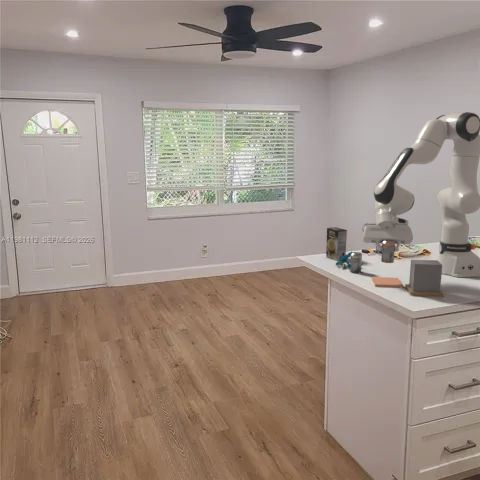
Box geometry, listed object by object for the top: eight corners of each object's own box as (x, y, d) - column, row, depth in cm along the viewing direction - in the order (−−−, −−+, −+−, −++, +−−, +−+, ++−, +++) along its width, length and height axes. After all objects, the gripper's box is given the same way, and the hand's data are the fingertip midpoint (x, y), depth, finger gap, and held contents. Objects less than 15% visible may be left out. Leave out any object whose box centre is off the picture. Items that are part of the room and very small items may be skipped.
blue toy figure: (342, 259, 218) (354, 248, 211) (350, 268, 216) (362, 257, 209) (330, 266, 211) (341, 255, 204) (337, 275, 209) (349, 264, 202)
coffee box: (325, 257, 230) (326, 227, 226) (334, 255, 232) (335, 226, 229) (336, 260, 222) (337, 230, 218) (346, 259, 224) (347, 229, 221)
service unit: (436, 288, 174) (438, 259, 172) (443, 296, 164) (445, 265, 162) (405, 287, 176) (407, 258, 174) (410, 295, 167) (412, 264, 164)
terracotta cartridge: (392, 260, 183) (394, 239, 181) (395, 263, 178) (396, 242, 176) (380, 259, 184) (381, 239, 182) (382, 262, 179) (383, 241, 177)
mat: (397, 280, 187) (397, 277, 187) (402, 287, 176) (402, 285, 176) (371, 279, 189) (371, 276, 189) (375, 286, 178) (375, 284, 178)
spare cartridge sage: (361, 270, 202) (361, 252, 201) (361, 273, 197) (362, 254, 196) (349, 270, 204) (350, 251, 202) (350, 273, 199) (350, 254, 197)
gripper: (362, 219, 186) (363, 245, 178) (411, 220, 182) (415, 247, 175) (361, 227, 191) (362, 253, 183) (408, 228, 188) (412, 255, 180)
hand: (388, 250), depth 179 cm, fingers closed on terracotta cartridge, 5 cm apart
